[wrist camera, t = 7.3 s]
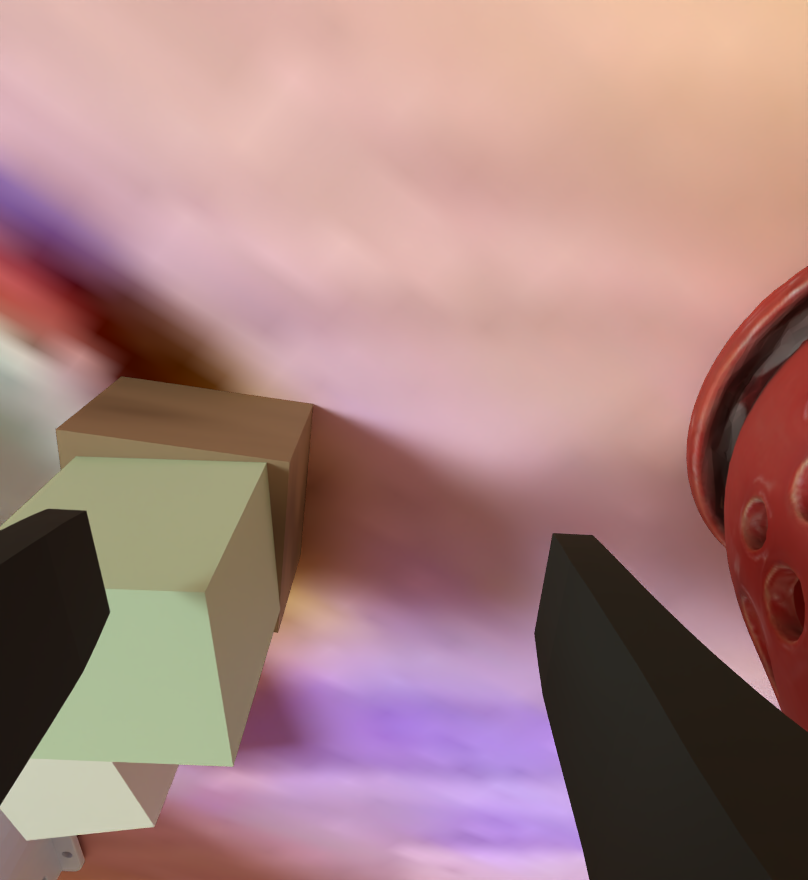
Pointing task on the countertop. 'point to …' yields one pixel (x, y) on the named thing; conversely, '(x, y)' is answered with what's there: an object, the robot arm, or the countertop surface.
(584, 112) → the countertop surface
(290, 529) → the walnut block
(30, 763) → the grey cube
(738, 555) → the plant pot
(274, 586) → the sage cube
